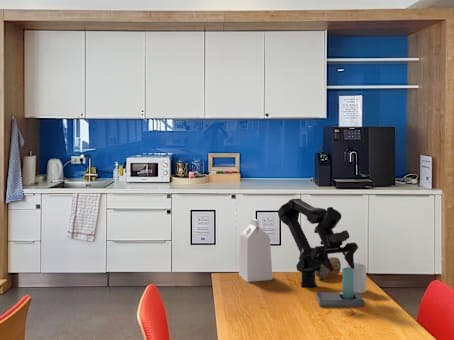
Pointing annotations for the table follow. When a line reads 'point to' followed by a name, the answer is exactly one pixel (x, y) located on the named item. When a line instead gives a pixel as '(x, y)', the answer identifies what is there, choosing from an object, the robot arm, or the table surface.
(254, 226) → the milk
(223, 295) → the table surface
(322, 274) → the tin
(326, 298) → the flange plate
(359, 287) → the mug
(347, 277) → the peg
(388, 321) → the table surface
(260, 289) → the table surface
